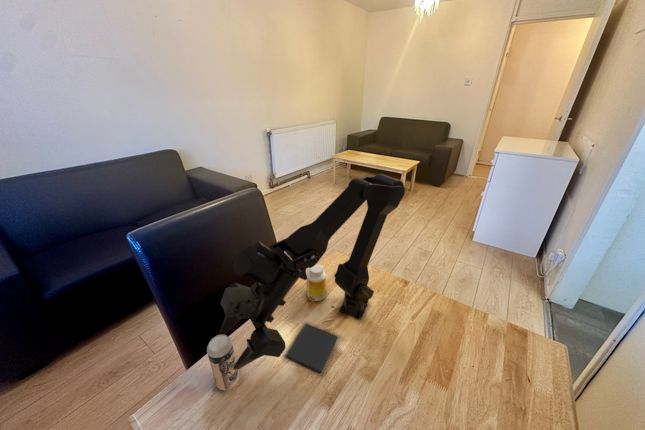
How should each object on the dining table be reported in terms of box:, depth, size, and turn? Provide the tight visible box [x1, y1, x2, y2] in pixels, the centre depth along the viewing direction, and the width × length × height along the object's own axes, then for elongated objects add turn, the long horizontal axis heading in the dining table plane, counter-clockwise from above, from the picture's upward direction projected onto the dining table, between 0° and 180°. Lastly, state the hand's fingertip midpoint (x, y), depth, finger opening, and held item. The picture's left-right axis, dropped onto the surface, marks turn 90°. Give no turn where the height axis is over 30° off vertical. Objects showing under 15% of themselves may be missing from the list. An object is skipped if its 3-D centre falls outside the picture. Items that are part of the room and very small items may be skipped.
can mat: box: [285, 323, 339, 374], centre depth 63 cm, size 10×9×1 cm
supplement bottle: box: [306, 263, 327, 302], centre depth 77 cm, size 6×6×10 cm
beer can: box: [206, 334, 240, 391], centre depth 53 cm, size 5×5×12 cm
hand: (228, 350), depth 53 cm, fingers open, 9 cm apart
